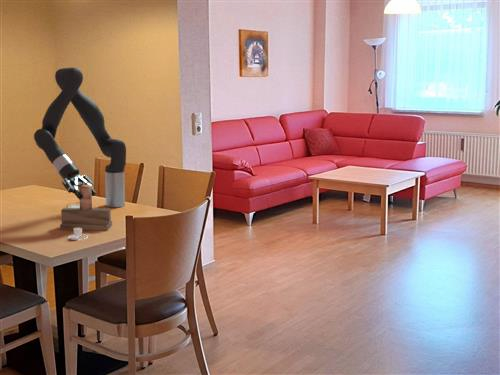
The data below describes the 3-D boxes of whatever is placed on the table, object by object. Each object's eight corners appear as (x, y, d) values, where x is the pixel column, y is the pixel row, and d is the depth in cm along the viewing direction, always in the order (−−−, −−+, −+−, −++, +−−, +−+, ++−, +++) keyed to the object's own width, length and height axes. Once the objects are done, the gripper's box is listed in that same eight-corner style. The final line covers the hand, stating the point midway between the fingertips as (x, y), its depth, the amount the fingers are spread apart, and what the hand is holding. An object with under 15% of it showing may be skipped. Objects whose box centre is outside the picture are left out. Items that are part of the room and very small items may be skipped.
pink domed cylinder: (81, 207, 266) (80, 185, 264) (93, 208, 266) (92, 185, 264) (78, 210, 261) (77, 187, 259) (90, 210, 261) (89, 187, 259)
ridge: (66, 224, 269) (65, 206, 268) (112, 225, 270) (111, 207, 268) (60, 229, 260) (59, 211, 259) (107, 230, 261) (107, 211, 259)
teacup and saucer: (73, 242, 243) (73, 232, 242) (62, 238, 248) (61, 229, 247) (92, 238, 250) (91, 228, 249) (80, 234, 255) (80, 225, 254)
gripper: (59, 164, 256) (82, 193, 254) (81, 160, 269) (103, 188, 267) (49, 175, 259) (72, 205, 257) (72, 171, 272) (93, 199, 270)
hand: (88, 196), depth 262 cm, fingers open, 8 cm apart
